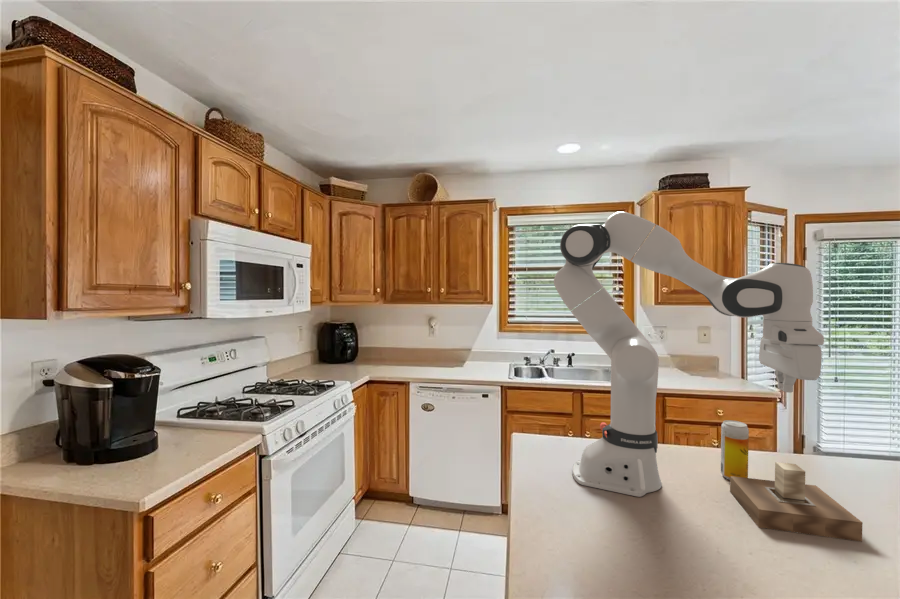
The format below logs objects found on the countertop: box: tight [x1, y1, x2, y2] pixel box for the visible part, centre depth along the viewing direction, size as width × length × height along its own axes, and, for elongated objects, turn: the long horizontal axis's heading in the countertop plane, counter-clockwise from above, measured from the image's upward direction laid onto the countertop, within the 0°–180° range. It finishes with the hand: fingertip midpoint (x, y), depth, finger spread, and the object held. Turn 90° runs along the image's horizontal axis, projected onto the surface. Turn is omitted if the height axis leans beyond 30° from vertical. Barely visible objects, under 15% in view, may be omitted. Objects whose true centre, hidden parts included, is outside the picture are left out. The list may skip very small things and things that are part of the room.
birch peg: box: [774, 461, 806, 503], centre depth 92 cm, size 4×4×11 cm
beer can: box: [720, 419, 750, 481], centre depth 110 cm, size 6×6×15 cm
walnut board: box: [729, 476, 863, 543], centre depth 92 cm, size 18×16×4 cm
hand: (785, 391), depth 95 cm, fingers closed
